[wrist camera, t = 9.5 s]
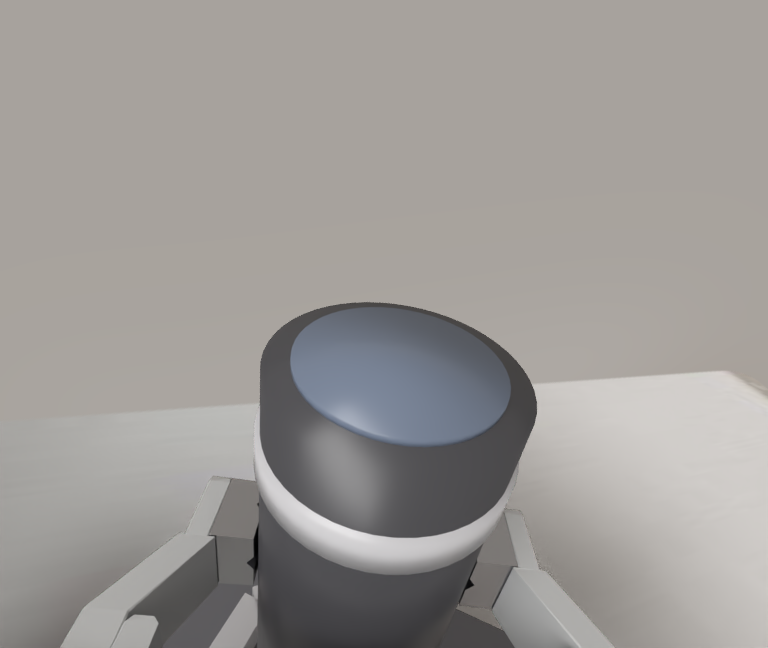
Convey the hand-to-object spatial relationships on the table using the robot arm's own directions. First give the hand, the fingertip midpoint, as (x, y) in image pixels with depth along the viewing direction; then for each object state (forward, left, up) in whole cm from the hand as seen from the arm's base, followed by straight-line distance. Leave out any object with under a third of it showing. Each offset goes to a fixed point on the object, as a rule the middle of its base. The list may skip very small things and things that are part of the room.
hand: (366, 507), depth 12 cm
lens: (0, -1, -8) cm, 8 cm away
